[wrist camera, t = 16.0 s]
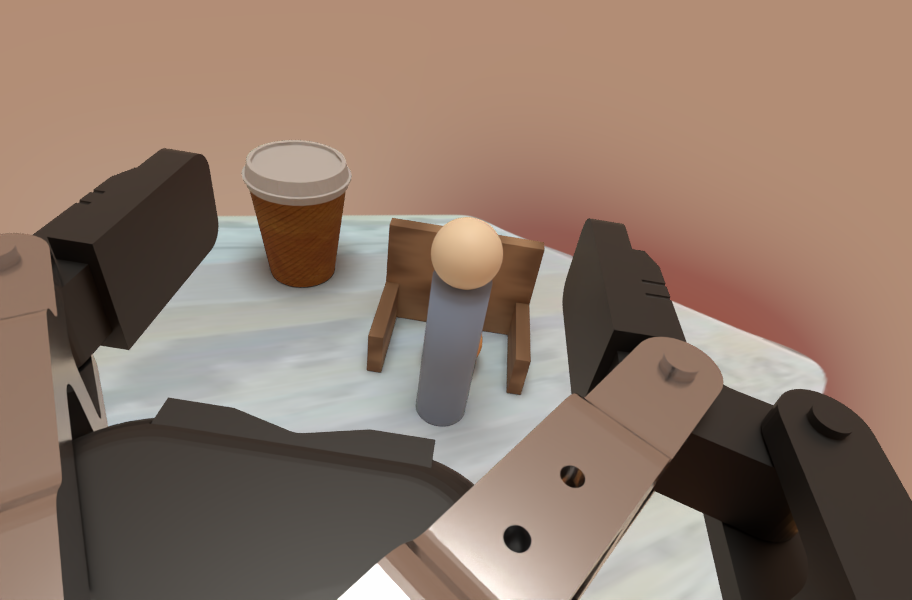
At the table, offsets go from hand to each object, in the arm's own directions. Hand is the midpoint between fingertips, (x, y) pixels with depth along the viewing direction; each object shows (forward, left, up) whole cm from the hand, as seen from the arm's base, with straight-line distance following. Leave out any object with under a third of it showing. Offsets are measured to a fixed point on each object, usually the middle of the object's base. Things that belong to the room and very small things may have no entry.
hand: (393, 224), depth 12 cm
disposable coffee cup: (-14, +34, -28) cm, 46 cm away
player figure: (+2, +19, -28) cm, 34 cm away
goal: (+2, +26, -28) cm, 38 cm away
